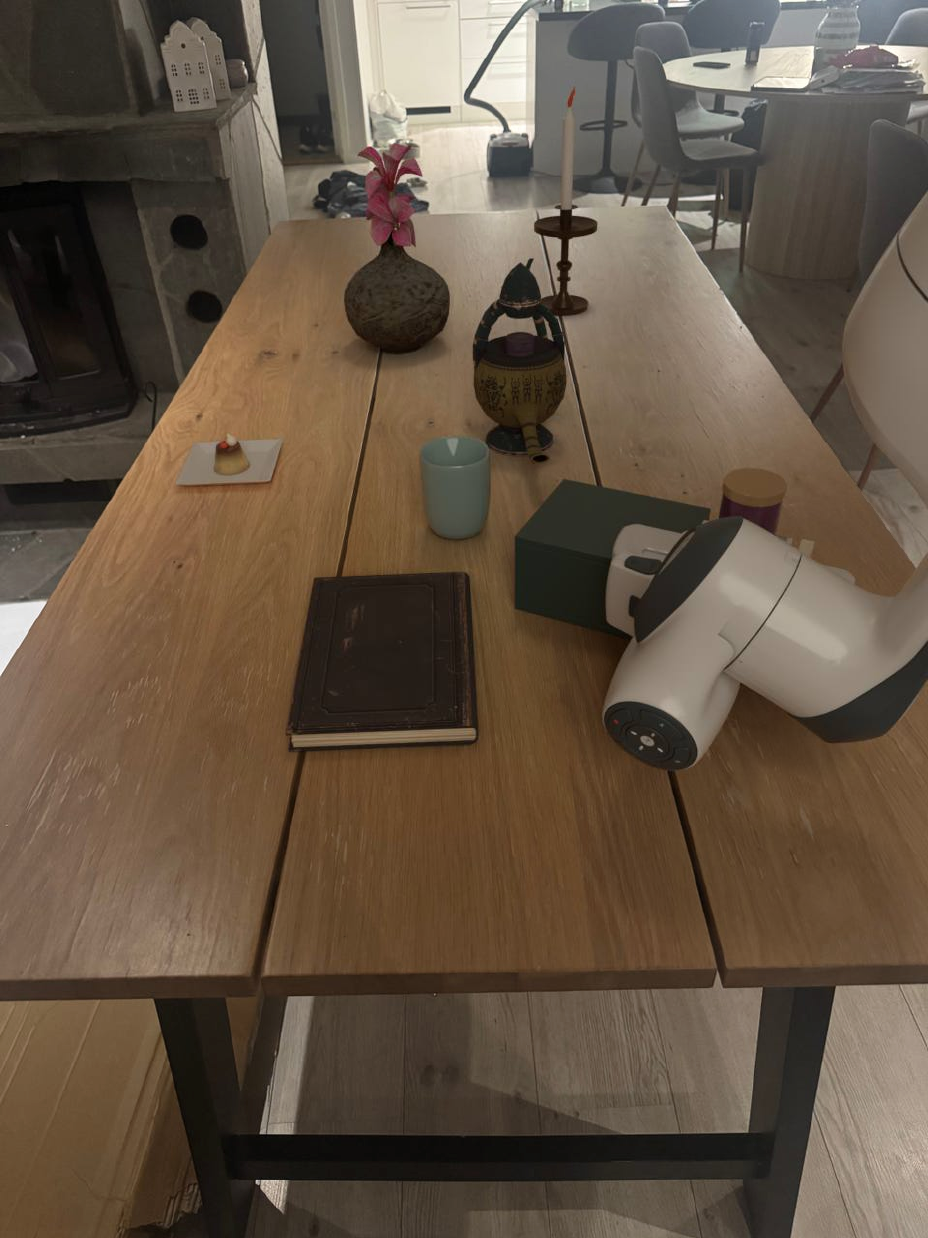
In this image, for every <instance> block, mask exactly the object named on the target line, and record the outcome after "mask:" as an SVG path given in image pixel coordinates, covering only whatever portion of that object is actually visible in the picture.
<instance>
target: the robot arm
mask: <svg viewBox="0 0 928 1238" xmlns="http://www.w3.org/2000/svg"><path fill="white" fill-rule="evenodd" d="M868 276H869V277H868V278H867V280H866V282H865V283H864V285H863V287H862V289H861V291H860V293H859V295H858V297H857V299H856V300H855V303H854V304H853V306H852V308H851V311H850V313H849V314H848V317H847V319H846V322H845V324H844V329H843V336H842V345H841V346H842V348H841V349H842V350H841V351H842V352H841V354H842V355H841V356H842V369H843V370H842V371H843V375H844V380H845V384H846V388H847V392H848V396H849V398H850V400H851V401H850V402H851V404H852V406H853V408H854V410H855V413H856V415H857V417H858V419H859V421H860V423H861V424H862V426H863V428H864V430H865V431H866V433H867V435H868V436H869V438H870V439H871V441H872V442H873V443H874V445H875V446H876V447H877V448H878V449H879V450H880V452H882V454H884V456H886V458H887V459H888V460H890V462H891V463H892V464H893V465H894V466H895V468H896V469H897V470H898V471H899V472H900V473H901V474H902V475H903V476H904V478H905V479H906V480H907V481H908V483H909V484H910V485H911V486H912V488H913V489H914V490H915V492H916V493H917V495H918V496H919V497H920V499H921V501H922V502H923V504H924V505H925V506H926V508H927V509H928V190H926V192H925V194H924V195H923V196H922V197H921V199H920V201H919V202H918V203H917V204H916V206H915V207H914V209H913V210H912V211H911V213H910V214H909V215H908V217H907V218H906V220H905V221H904V222H903V224H902V226H901V227H900V228H899V230H898V231H897V232H896V234H895V236H894V237H893V238H892V240H891V241H890V243H889V245H888V246H887V247H886V249H885V250H884V252H883V253H882V255H881V257H880V258H879V260H878V261H877V263H876V264H875V266H874V268H873V270H872V271H871V273H870V275H868ZM793 541H794V539H793V537H786V536H782V535H777V534H776V536H775V535H773V534H771V533H770V532H768V531H766V530H765V529H763V528H761V527H759V526H758V525H756V524H754V523H752V522H750V521H748V520H746V519H744V518H743V517H742V516H733V517H725V518H720V519H718V518H716V519H713V520H709V521H707V520H704V521H703V522H702V524H701V525H698V526H695V527H693V528H691V529H690V530H688V531H685V532H683V533H682V534H681V533H676V532H672V531H667V530H663V529H658V528H653V527H649V526H644V525H640V524H633V525H629V526H625V527H624V528H623V529H622V530H621V531H620V533H619V535H618V537H617V539H616V541H615V543H614V546H613V552H612V561H611V564H610V568H609V573H608V578H607V586H606V619H607V622H608V623H609V624H610V625H612V626H614V627H616V628H618V629H620V630H622V631H623V632H625V633H627V634H629V635H631V636H633V638H632V640H631V639H630V641H629V643H628V645H627V646H626V649H625V650H624V652H623V654H622V656H621V658H620V660H619V662H618V664H617V666H616V669H615V671H614V673H613V675H612V678H611V680H610V684H609V687H608V689H607V692H606V695H605V699H604V703H603V706H602V714H601V719H602V723H603V727H604V729H605V732H606V733H607V735H608V737H609V738H610V739H611V740H612V742H614V743H615V744H616V746H617V747H618V748H620V749H621V750H622V751H623V752H625V753H627V754H628V755H630V756H631V757H632V758H634V759H636V760H638V761H640V762H641V763H643V764H645V765H646V766H650V767H652V768H655V769H658V770H661V771H662V770H663V771H669V772H670V771H671V772H676V771H684V770H687V769H690V768H692V767H694V766H695V765H696V764H698V762H700V760H701V759H702V758H703V757H704V755H705V754H706V753H707V751H708V750H709V748H710V747H711V745H712V744H713V742H714V740H715V739H716V738H717V736H718V734H719V733H720V731H721V729H722V727H723V726H724V724H725V721H726V720H727V718H728V716H729V714H730V712H731V710H732V707H733V705H734V703H735V701H736V699H737V696H738V694H739V689H740V687H741V684H743V685H744V686H745V687H747V688H749V689H750V690H752V691H754V692H755V693H757V694H758V695H760V696H762V697H763V698H765V699H767V700H768V701H770V702H771V703H773V704H774V705H776V706H778V707H779V708H781V710H784V711H785V712H786V714H787V715H788V716H790V717H791V718H792V719H793V720H795V721H796V722H798V723H799V724H800V725H802V726H803V727H804V728H805V729H807V730H808V731H810V732H811V733H812V734H814V735H815V736H816V737H817V738H819V739H820V740H822V741H823V742H824V743H827V744H848V743H856V742H857V743H858V742H864V741H865V742H866V741H870V740H874V739H878V738H882V737H883V736H884V735H886V734H887V733H888V732H889V731H891V729H892V728H894V726H895V725H896V724H898V723H899V721H901V719H902V718H904V717H905V715H906V714H907V712H909V710H910V709H911V707H912V706H913V704H914V703H915V701H916V700H917V698H918V696H920V695H919V694H920V692H921V691H922V689H923V687H924V686H925V684H926V683H927V681H928V551H927V552H926V554H925V555H924V556H923V558H922V559H921V560H920V562H919V564H917V566H916V568H915V570H914V571H913V572H912V574H911V575H910V576H909V578H908V579H907V580H906V582H905V584H904V585H903V586H902V588H901V589H900V590H899V592H898V594H897V595H895V596H890V595H889V596H888V595H881V594H877V593H873V592H871V591H868V590H866V589H863V588H861V587H859V586H858V585H856V578H855V577H854V576H853V574H852V573H851V572H850V571H849V570H847V569H845V568H841V567H836V566H831V565H827V564H822V563H819V562H818V561H816V560H815V559H813V558H812V557H811V558H810V557H808V556H806V555H805V554H803V553H801V551H800V550H798V548H797V547H795V546H793Z"/></svg>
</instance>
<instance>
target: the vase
mask: <svg viewBox="0 0 928 1238" xmlns="http://www.w3.org/2000/svg"><path fill="white" fill-rule="evenodd" d="M412 147H413V145H411V144H408V145H407V146H405V145H404V144H400V143H397V142H393V143H392V144H391V147H390V149H389V153H386V152H384V151H382V154H381V155H380V153H379V152H378V150H377V149H375V148H374V147H373V146H372V145H371V146H366V147H365V148H364V149H362V150H360V152H358V153H357V157H361V158H364V159H366V160H368V161H370V162H371V163H372V164H374V167H373V168H372V170H370V171H369V172H368V173H367V174H366V176H365V179H364V184H365V185H364V186H365V192H366V197H367V199H368V200H367V202H366V210H365V217H366V218H365V221H370V220H371V225H370V237H371V238H372V240H373V242H374V243H375V245H376V246H377V247H380V249H379V252H378V254H377V255H376V256H375V257H374V258H373V259H372V260H370V261H369V262H366V264H364V265H363V266H362V267H360V268H359V269H358V270H357V271H356V272H355V273H354V275H353V276H352V277H351V278H350V280H349V282H348V283H347V285H346V287H345V289H344V295H343V296H344V297H343V303H344V310H345V315H346V319H347V321H348V323H349V325H350V326H351V328H352V330H353V331H354V333H355V335H356V336H357V337H359V338H360V339H362V340H364V341H365V342H367V343H369V344H371V345H372V346H374V347H377V348H378V349H379V348H380V350H381V351H382V352H384V353H385V354H389V355H404V354H410V353H414V352H416V351H418V350H420V349H421V347H422V346H423V345H424V344H426V343H428V342H430V341H431V340H434V338H436V337H437V336H438V335H439V334H440V333H442V332H443V331H444V330H445V327H446V324H447V322H448V319H449V315H450V306H451V294H450V289H449V285H448V283H447V282H446V280H445V279H444V278H443V276H442V275H441V274H440V273H438V272H437V270H435V269H434V268H433V267H431V266H430V265H428V264H426V263H424V262H422V261H420V260H418V259H416V258H413V257H412V256H410V255H409V254H408V253H407V251H406V249H405V247H412V246H413V247H414V248H416V247H417V243H416V231H415V225H414V222H413V220H412V219H411V217H412V216H413V214H414V212H415V208H414V207H413V206H412V205H411V204H410V201H412V200H415V199H417V196H415V195H412V194H407V193H403V192H398V193H397V194H395V192H396V191H395V190H396V188H397V185H398V183H399V181H400V179H401V177H403V176H404V175H413V176H418V177H422V178H423V173H422V170H421V168H420V165H419V163H418V161H417V159H416V158H415V157H413V156H410V157H406V159H404V160H403V158H404V156H405V155H406V154H407V153H408V152H409V151H411V148H412ZM402 160H403V161H402ZM399 166H400V167H399Z"/></svg>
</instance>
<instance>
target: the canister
mask: <svg viewBox="0 0 928 1238" xmlns="http://www.w3.org/2000/svg"><path fill="white" fill-rule="evenodd" d="M787 490H788V483H787V481H786V479H785V478H784V477H783V476H781V474H778V473H776V472H774V471H771V470H768V469H763V468H757V467H741V468H736V469H733V470H730V471H729V472H727V473H726V474H725V475H724V477H723V479H722V485H721V491H722V493H721V499H720V507H719V513H718V517H717V519H720V518H725V517H733V516H742V517H743V518H744V519H746V520H748V521H750V522H752V523H754V524H756V525H758V526H759V527H761V528H763V529H765V530H766V531H768V532H770V533H771V534H773V535H775V536H776V535H777V532H778V529H779V523H780V518H781V514H782V509H783V504H784V500H785V499H786V495H787Z"/></svg>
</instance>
